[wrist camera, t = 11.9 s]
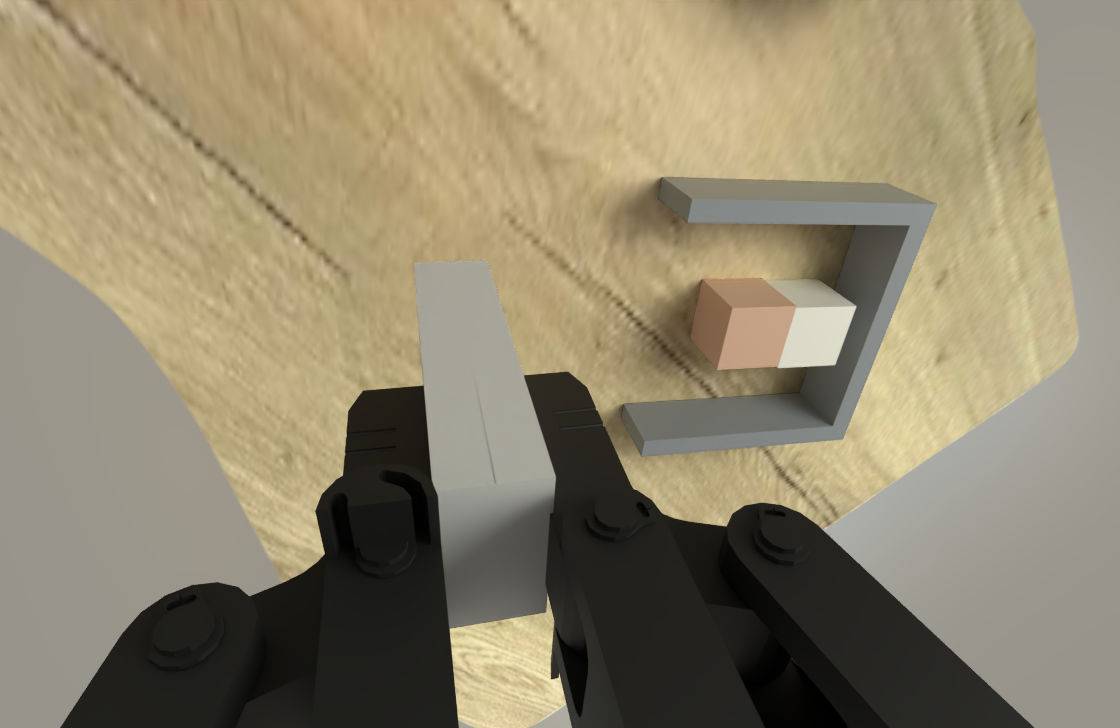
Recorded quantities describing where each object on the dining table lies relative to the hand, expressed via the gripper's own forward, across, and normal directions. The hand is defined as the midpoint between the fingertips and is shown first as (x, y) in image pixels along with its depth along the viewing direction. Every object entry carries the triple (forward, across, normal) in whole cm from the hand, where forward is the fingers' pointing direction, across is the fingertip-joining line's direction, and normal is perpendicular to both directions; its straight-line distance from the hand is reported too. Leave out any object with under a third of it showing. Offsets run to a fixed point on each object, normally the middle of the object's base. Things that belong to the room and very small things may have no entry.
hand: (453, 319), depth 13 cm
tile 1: (+27, +23, -16) cm, 39 cm away
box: (+27, +25, -16) cm, 40 cm away
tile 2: (+27, +28, -16) cm, 42 cm away
